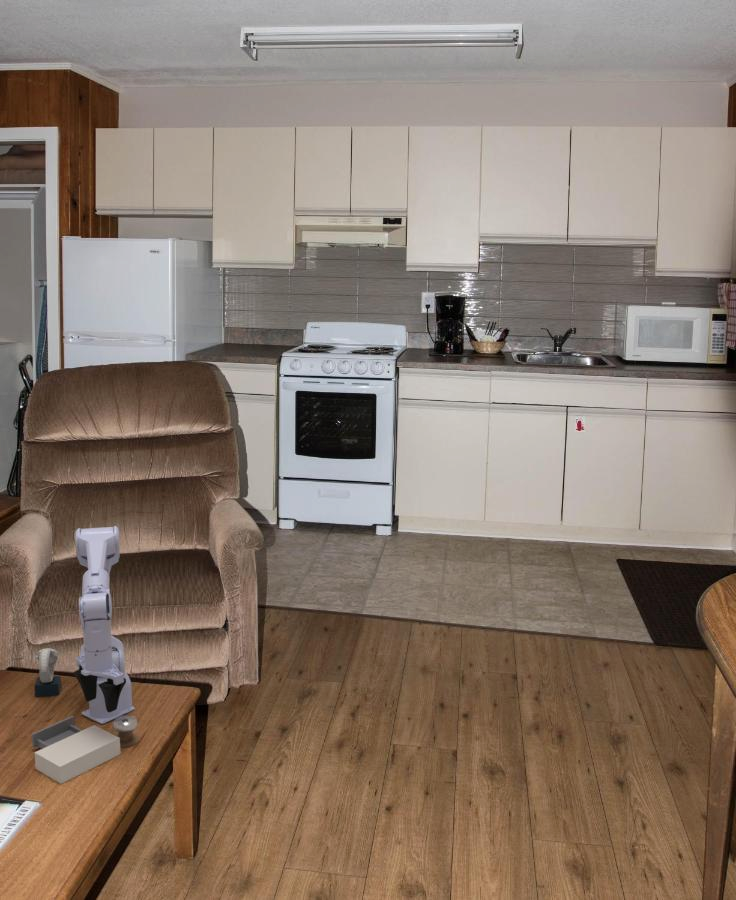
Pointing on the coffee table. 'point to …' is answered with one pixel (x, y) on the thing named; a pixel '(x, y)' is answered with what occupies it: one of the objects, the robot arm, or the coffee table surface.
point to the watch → (47, 674)
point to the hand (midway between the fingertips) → (101, 705)
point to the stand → (128, 739)
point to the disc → (125, 723)
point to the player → (77, 754)
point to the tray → (54, 733)
